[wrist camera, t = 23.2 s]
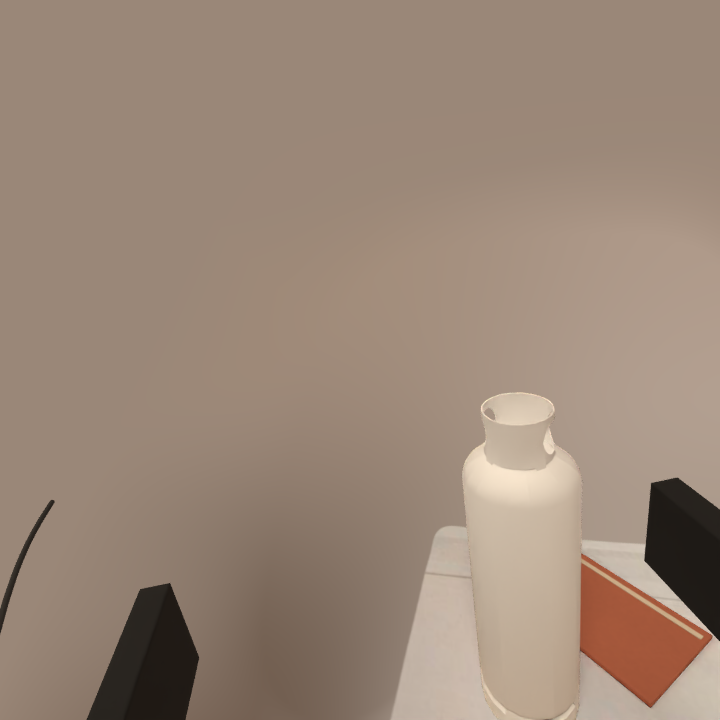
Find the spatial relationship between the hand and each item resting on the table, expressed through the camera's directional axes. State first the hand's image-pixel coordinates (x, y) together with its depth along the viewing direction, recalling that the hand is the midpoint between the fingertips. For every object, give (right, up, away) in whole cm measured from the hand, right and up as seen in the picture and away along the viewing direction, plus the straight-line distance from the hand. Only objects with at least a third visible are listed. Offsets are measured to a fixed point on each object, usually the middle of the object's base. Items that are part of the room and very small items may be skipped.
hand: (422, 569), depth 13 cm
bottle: (+13, -24, +29) cm, 39 cm away
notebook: (+23, -20, +34) cm, 45 cm away
